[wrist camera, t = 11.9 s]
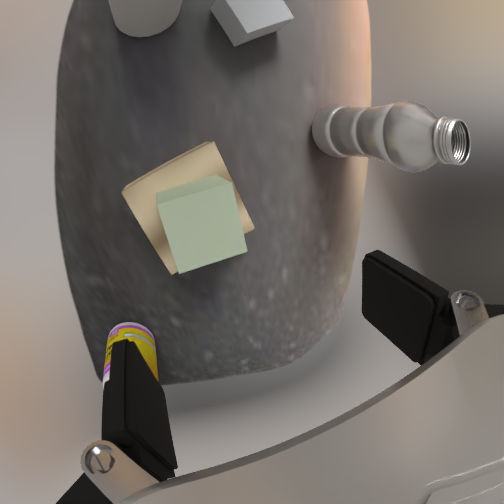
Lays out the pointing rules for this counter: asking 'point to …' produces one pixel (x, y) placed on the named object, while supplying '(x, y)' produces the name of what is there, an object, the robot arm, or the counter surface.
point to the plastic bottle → (392, 135)
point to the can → (144, 15)
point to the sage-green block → (201, 222)
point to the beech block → (170, 175)
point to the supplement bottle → (141, 339)
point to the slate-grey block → (250, 18)
